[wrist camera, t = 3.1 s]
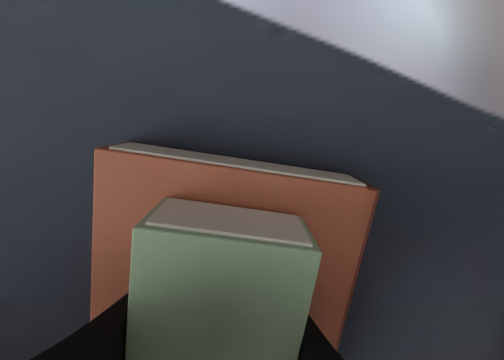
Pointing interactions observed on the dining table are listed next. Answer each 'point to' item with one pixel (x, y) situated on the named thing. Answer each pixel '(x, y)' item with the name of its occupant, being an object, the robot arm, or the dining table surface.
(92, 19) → the dining table surface
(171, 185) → the hardback
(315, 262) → the pale green rectangular block
